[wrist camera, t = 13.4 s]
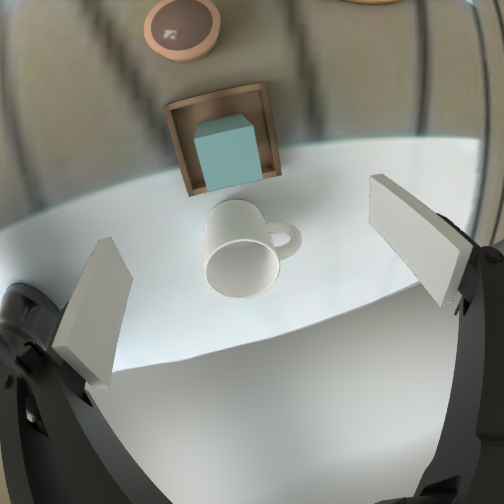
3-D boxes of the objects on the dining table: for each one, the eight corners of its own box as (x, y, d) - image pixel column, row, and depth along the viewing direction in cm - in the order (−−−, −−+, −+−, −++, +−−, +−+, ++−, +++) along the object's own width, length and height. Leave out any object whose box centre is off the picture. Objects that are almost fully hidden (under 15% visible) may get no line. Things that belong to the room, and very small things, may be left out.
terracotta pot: (163, 70, 25) (151, 66, 20) (152, 20, 21) (137, 6, 16) (223, 54, 25) (227, 47, 20) (212, 4, 21) (213, -14, 16)
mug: (287, 188, 36) (313, 225, 28) (291, 239, 41) (312, 285, 33) (198, 203, 36) (195, 247, 28) (210, 254, 41) (213, 304, 32)
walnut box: (190, 189, 35) (188, 196, 33) (166, 104, 28) (162, 106, 26) (277, 168, 35) (281, 175, 33) (262, 82, 28) (266, 82, 26)
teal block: (198, 122, 29) (193, 139, 21) (240, 113, 29) (253, 125, 21) (208, 162, 32) (208, 193, 24) (248, 152, 32) (263, 180, 24)
